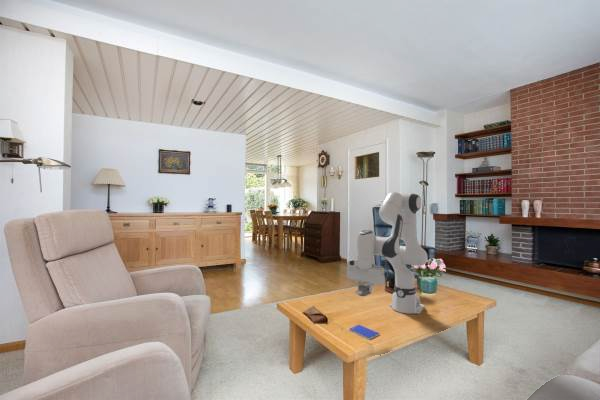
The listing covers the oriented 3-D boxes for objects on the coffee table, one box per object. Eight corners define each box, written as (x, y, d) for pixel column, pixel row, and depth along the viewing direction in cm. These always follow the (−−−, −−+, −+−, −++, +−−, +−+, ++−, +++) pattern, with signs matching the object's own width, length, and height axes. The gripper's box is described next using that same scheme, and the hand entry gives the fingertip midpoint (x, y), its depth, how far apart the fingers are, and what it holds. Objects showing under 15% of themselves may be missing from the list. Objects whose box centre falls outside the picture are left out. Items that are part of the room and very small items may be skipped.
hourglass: (407, 289, 218) (408, 256, 218) (407, 295, 203) (407, 260, 203) (385, 287, 223) (386, 255, 224) (383, 292, 208) (384, 258, 209)
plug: (366, 291, 148) (366, 283, 148) (373, 292, 145) (373, 284, 145) (353, 295, 139) (353, 287, 139) (360, 297, 137) (360, 289, 137)
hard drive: (349, 328, 145) (369, 337, 136) (359, 324, 150) (379, 332, 141) (349, 331, 145) (369, 340, 136) (359, 327, 150) (379, 335, 141)
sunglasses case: (301, 312, 168) (306, 301, 169) (310, 316, 170) (315, 306, 172) (314, 324, 151) (320, 312, 153) (324, 329, 154) (330, 317, 155)
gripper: (387, 265, 138) (387, 294, 138) (352, 259, 152) (351, 285, 152) (381, 267, 134) (380, 296, 133) (345, 260, 148) (344, 287, 148)
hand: (364, 290), depth 143 cm, fingers closed on plug, 4 cm apart
